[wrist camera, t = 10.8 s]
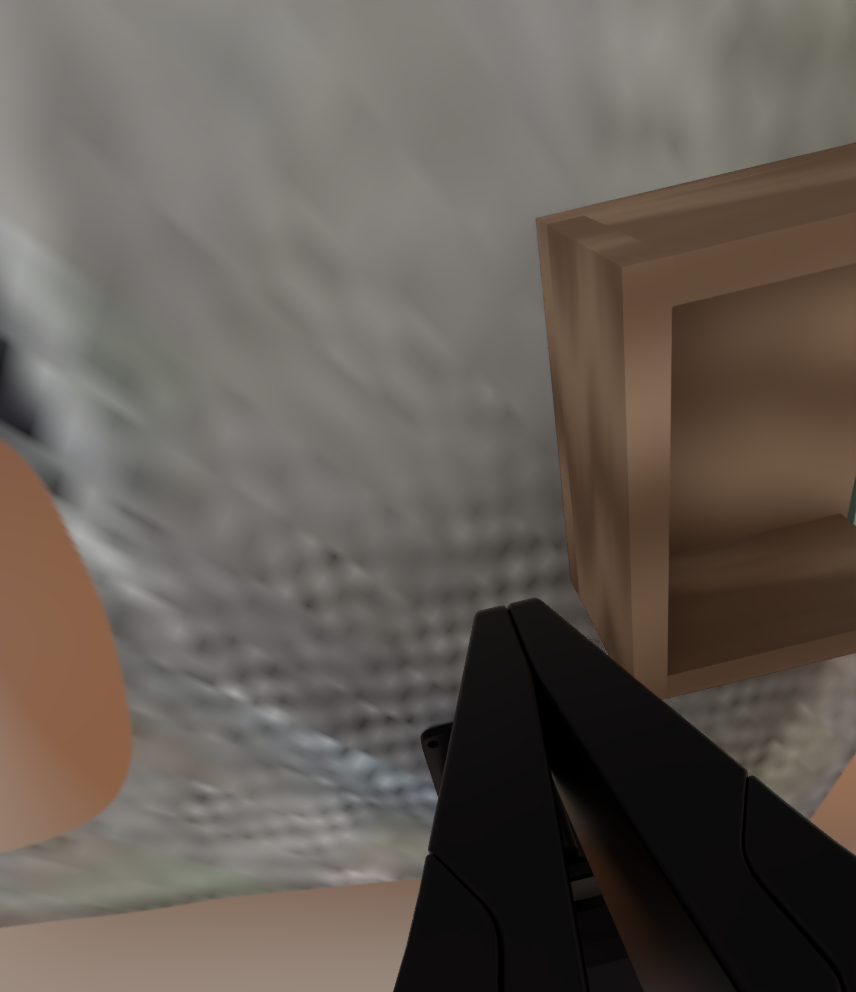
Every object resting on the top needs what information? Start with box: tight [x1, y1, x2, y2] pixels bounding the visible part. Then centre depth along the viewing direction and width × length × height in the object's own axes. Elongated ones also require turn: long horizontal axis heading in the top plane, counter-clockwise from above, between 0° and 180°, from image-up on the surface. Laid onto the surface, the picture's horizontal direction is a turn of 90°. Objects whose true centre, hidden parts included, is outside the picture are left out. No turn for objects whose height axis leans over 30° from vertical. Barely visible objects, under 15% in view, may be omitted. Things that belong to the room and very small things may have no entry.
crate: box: [536, 143, 856, 700], centre depth 18 cm, size 13×10×6 cm
